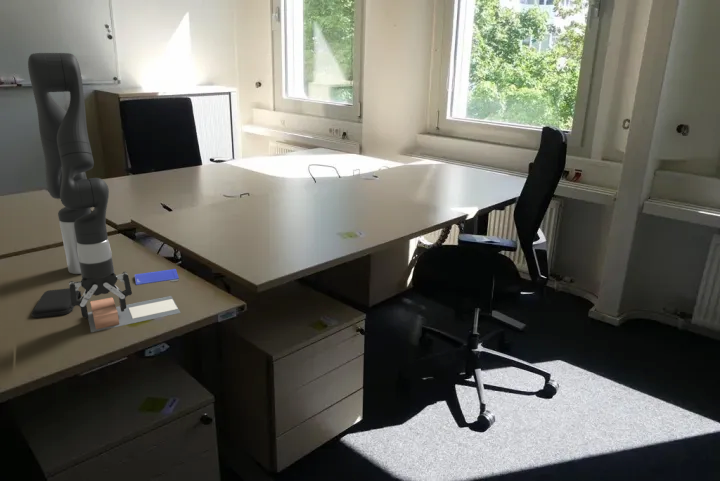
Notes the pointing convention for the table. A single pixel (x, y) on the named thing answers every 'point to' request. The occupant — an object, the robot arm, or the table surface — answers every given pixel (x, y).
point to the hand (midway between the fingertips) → (104, 314)
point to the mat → (141, 312)
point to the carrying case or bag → (54, 303)
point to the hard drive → (156, 277)
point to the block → (104, 313)
